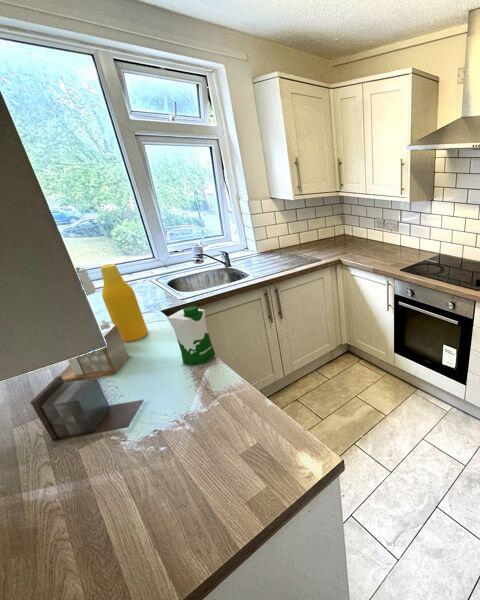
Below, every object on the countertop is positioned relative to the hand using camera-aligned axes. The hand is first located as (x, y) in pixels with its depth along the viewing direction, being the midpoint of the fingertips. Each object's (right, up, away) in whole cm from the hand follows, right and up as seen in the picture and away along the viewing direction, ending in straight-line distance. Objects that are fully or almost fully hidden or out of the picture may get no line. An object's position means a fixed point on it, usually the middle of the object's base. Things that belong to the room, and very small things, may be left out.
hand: (63, 318), depth 100 cm
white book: (0, -17, +8) cm, 18 cm away
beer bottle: (-1, -9, +28) cm, 29 cm away
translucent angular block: (+2, -17, +9) cm, 19 cm away
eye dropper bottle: (-1, -13, +19) cm, 23 cm away
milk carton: (+33, -15, +14) cm, 39 cm away
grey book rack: (+24, -27, -13) cm, 38 cm away
